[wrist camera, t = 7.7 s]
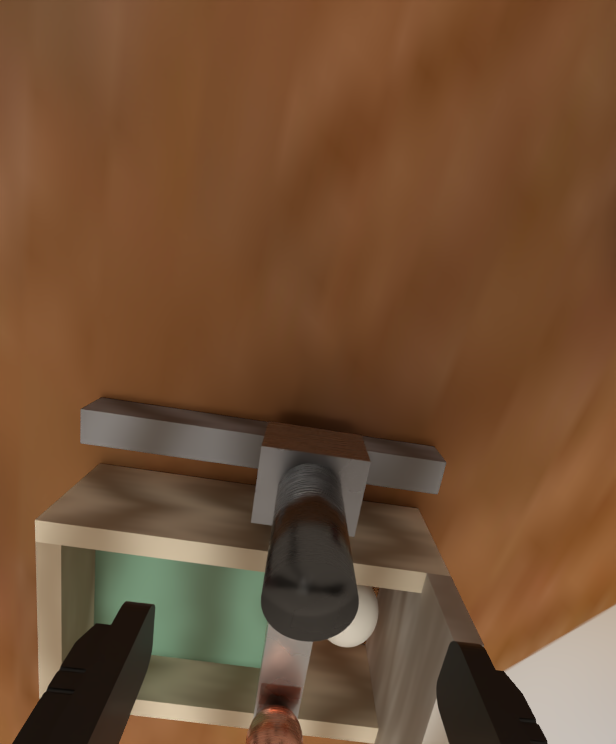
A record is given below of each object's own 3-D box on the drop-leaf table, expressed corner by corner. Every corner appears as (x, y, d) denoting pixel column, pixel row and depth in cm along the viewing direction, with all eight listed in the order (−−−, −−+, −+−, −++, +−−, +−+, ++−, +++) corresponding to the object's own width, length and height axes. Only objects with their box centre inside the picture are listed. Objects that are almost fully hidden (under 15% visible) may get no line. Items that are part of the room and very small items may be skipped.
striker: (240, 617, 22) (197, 831, 14) (268, 421, 19) (235, 536, 11) (321, 628, 23) (329, 845, 14) (361, 434, 20) (404, 559, 11)
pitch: (96, 624, 25) (-15, 803, 17) (101, 397, 22) (-41, 476, 13) (378, 659, 26) (413, 849, 17) (434, 446, 22) (515, 554, 13)
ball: (362, 605, 25) (305, 604, 25) (373, 557, 24) (314, 554, 24) (379, 665, 22) (312, 664, 21) (393, 610, 21) (324, 608, 20)
